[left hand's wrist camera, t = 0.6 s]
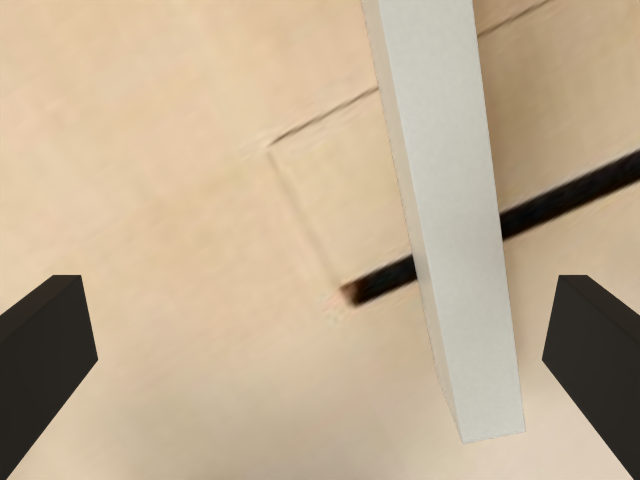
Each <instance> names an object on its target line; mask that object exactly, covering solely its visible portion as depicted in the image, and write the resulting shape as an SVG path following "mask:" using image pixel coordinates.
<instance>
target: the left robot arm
mask: <svg viewBox="0 0 640 480" xmlns="http://www.w3.org/2000/svg"><path fill="white" fill-rule="evenodd" d="M97 361H98V356H97V351H96V346H95V341H94V337H93V332H92V327H91V322H90V317H89V312H88V307H87V302H86V297H85V292H84V287H83V282H82V277H81V275H53V276H51V277H50V278H49V279H47V280H46V281H45V282H43V283H42V284H41V285H39V286H38V287H37V288H36V289H34V290H33V291H32V292H30V293H29V294H28V295H26V296H25V297H24V298H22V299H21V300H20V301H19V302H17V303H16V304H15V305H13V306H12V307H11V308H9V309H8V310H7V311H5V312H4V313H3V314H2V315H0V480H6V479H7V478H8V477H9V475H10V474H11V473H12V471H13V470H14V469H15V468H16V466H17V465H18V464H19V462H20V461H21V460H22V458H23V457H24V456H25V455H26V453H27V452H28V451H29V449H30V448H31V447H32V445H33V444H34V443H35V441H36V440H37V439H38V438H39V436H40V435H41V434H42V432H43V431H44V430H45V428H46V427H47V426H48V425H49V423H50V422H51V421H52V419H53V418H54V417H55V415H56V414H57V413H58V412H59V410H60V409H61V408H62V406H63V405H64V404H65V402H66V401H67V400H68V399H69V397H70V396H71V395H72V393H73V392H74V391H75V389H76V388H77V387H78V386H79V384H80V383H81V382H82V380H83V379H84V378H85V376H86V375H87V374H88V372H89V371H90V370H91V369H92V367H93V366H94V365H95V363H96V362H97ZM542 361H543V362H544V363H545V365H546V366H547V367H548V369H549V370H550V371H551V372H552V374H553V375H554V376H555V378H556V379H557V380H558V382H559V383H560V384H561V386H562V387H563V388H564V389H565V391H566V392H567V393H568V395H569V396H570V397H571V399H572V400H573V401H574V402H575V404H576V405H577V406H578V408H579V409H580V410H581V412H582V413H583V414H584V415H585V417H586V418H587V419H588V421H589V422H590V423H591V425H592V426H593V427H594V428H595V430H596V431H597V432H598V434H599V435H600V436H601V438H602V439H603V440H604V441H605V443H606V444H607V445H608V447H609V448H610V449H611V451H612V452H613V453H614V455H615V456H616V457H617V458H618V460H619V461H620V462H621V464H622V465H623V466H624V468H625V469H626V470H627V471H628V473H629V474H630V475H631V477H632V478H633V479H634V480H640V315H638V314H637V313H636V312H635V311H633V310H632V309H631V308H629V307H628V306H627V305H625V304H624V303H623V302H621V301H620V300H619V299H618V298H616V297H615V296H614V295H612V294H611V293H610V292H608V291H607V290H606V289H604V288H603V287H602V286H601V285H599V284H598V283H597V282H595V281H594V280H593V279H591V278H590V277H589V276H587V275H559V277H558V282H557V287H556V292H555V297H554V302H553V307H552V312H551V317H550V322H549V327H548V332H547V337H546V341H545V346H544V351H543V356H542Z"/></svg>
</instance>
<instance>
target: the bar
mask: <svg viewBox="0 0 640 480" xmlns="http://www.w3.org/2000/svg"><path fill="white" fill-rule="evenodd" d="M361 3H362V8H363V13H364V18H365V22H366V27H367V32H368V37H369V42H370V47H371V52H372V57H373V62H374V67H375V72H376V77H377V81H378V86H379V91H380V96H381V101H382V106H383V111H384V116H385V121H386V126H387V131H388V136H389V141H390V145H391V150H392V155H393V160H394V165H395V170H396V175H397V180H398V185H399V190H400V195H401V200H402V204H403V209H404V214H405V219H406V224H407V229H408V234H409V239H410V244H411V249H412V254H413V259H414V264H415V268H416V273H417V278H418V283H419V288H420V293H421V298H422V303H423V308H424V313H425V318H426V323H427V328H428V332H429V337H430V342H431V347H432V352H433V357H434V362H435V367H436V372H437V376H438V379H439V382H440V384H441V387H442V390H443V393H444V395H445V398H446V401H447V403H448V406H449V409H450V411H451V414H452V417H453V419H454V422H455V425H456V428H457V430H458V433H459V436H460V438H461V441H462V443H463V444H465V443H470V442H475V441H481V440H486V439H491V438H496V437H501V436H507V435H512V434H517V433H522V432H526V427H525V419H524V411H523V403H522V395H521V387H520V379H519V371H518V363H517V355H516V347H515V339H514V331H513V323H512V315H511V307H510V299H509V291H508V283H507V275H506V267H505V259H504V251H503V243H502V235H501V226H500V218H499V210H498V202H497V194H496V186H495V178H494V170H493V162H492V154H491V146H490V138H489V130H488V122H487V114H486V106H485V98H484V90H483V82H482V74H481V66H480V58H479V50H478V42H477V34H476V26H475V18H474V10H473V2H472V0H361Z"/></svg>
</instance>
